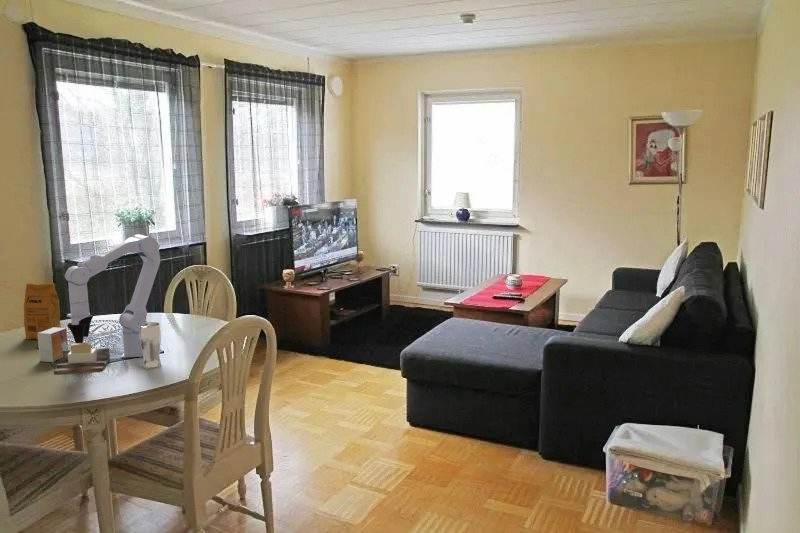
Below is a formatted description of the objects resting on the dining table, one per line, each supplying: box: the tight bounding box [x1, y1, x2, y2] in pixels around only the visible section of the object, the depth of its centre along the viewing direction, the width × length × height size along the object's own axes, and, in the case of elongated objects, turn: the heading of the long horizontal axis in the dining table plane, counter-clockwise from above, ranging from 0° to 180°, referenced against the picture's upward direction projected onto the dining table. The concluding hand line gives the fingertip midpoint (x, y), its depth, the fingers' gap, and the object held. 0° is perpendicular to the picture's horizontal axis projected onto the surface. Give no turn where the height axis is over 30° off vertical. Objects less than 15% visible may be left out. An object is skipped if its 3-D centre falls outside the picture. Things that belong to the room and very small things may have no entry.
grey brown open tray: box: [53, 347, 111, 375], centre depth 220 cm, size 15×12×4 cm
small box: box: [37, 327, 69, 363], centre depth 227 cm, size 8×6×10 cm
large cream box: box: [68, 342, 97, 363], centre depth 221 cm, size 8×5×7 cm, turn 103°
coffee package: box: [23, 282, 62, 341], centre depth 252 cm, size 10×12×22 cm
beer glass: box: [139, 321, 162, 370], centre depth 220 cm, size 7×7×15 cm
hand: (82, 339), depth 220 cm, fingers open, 7 cm apart
